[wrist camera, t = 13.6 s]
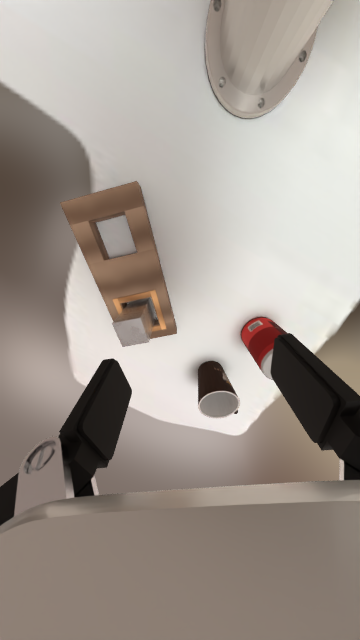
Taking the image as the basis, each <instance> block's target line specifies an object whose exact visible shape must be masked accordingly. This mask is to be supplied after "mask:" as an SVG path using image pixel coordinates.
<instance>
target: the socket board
mask: <svg viewBox="0 0 360 640" xmlns="http://www.w3.org/2000/svg"><path fill="white" fill-rule="evenodd" d="M60 204H61V206H62V209H63V210H64V213H65V215H66V217H67V220H68V222H69V224H70V226H71V229H72V230H73V233H74V235H75V237H76V240H77V242H78V244H79V246H80V248H81V251H82V253H83V255H84V257H85V260H86V262H87V264H88V266H89V268H90V271H91V273H92V275H93V277H94V279H95V282H96V284H97V286H98V288H99V291H100V293H101V295H102V297H103V299H104V302H105V304H106V306H107V308H108V310H109V313H110V315H111V317H112V319H113V322H114V320H115V319H116V318H117V317H118V315H119V314H120V313H121V312H122V310H123V309H124V308H125V307H126V305H127V303H126V302H131V301H135V300H140V299H145V298H149V297H151V299H152V302H153V305H154V308H155V312H156V315H157V318H158V320H155V322H154V326H153V329H152V333H151V336H150V339H152V338H157V337H162V336H167V335H173V334H177V327H176V323H175V319H174V315H173V311H172V307H171V304H170V300H169V296H168V292H167V288H166V284H165V280H164V276H163V273H162V269H161V265H160V261H159V257H158V253H157V249H156V245H155V241H154V238H153V234H152V230H151V226H150V222H149V218H148V214H147V210H146V206H145V203H144V199H143V195H142V191H141V187H140V185H139V184H138V182H137V181H135V182H132V183H128V184H125V185H121V186H118V187H114V188H110V189H107V190H103V191H100V192H96V193H93V194H89V195H85V196H82V197H79V198H75V199H71V200H68V201H64V202H61V203H60ZM122 215H126V218H127V221H128V224H129V228H130V231H131V234H132V237H133V241H134V244H135V247H136V250H137V253H134V254H130V255H126V256H121V257H117V258H113V259H109V256H108V254H107V251H106V249H105V246H104V244H103V241H102V238H101V236H100V233H99V231H98V228H97V226H96V223H95V222H99V221H103V220H107V219H111V218H114V217H118V216H122Z"/></svg>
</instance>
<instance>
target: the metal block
mask: <svg viewBox="0 0 360 640" xmlns="http://www.w3.org/2000/svg"><path fill="white" fill-rule="evenodd" d="M155 319H156V314H155V310H154V307H153V304H152V301H151V297H149V298H145V299H140V300H135V301H131V302H129V303H128V304H127V305H126V307H125V308H124V309H123V310H122V312H121V313H120V314H119V315H118V317H117V318H116V319H115V320H114V322H113V323H112V324H113V327H114V329H115V331H116V333H117V336H118V338H119V340H120V342H121V344H122V347H125V346H130V345H136V344H141V343H147V342H149V340H150V336H151V333H152V329H153V326H154V322H155Z"/></svg>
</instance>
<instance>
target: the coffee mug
mask: <svg viewBox="0 0 360 640" xmlns="http://www.w3.org/2000/svg"><path fill="white" fill-rule="evenodd" d="M239 406H240V400H239V398H238V396H237V394H236V393H235V391H234V389H233V387H232V385H231V383H230V381H229V379H228V377H227V376H226V374H225V372H224V370H223V368H222V366H221V365H220V364H219V363H218V362H215V361H208V362H205V363H203V364H202V365H201V366H200V367H199V369H198V408H199V411H200V412H201V413H202V414H203V415H205V416H207V417H210V418H223V417H227V416H229V415H231V414H233V413H234V414H237V413H238V410H237V409H238V408H239Z"/></svg>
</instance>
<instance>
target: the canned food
mask: <svg viewBox="0 0 360 640" xmlns="http://www.w3.org/2000/svg"><path fill="white" fill-rule="evenodd" d="M281 334H288V333H287V332H285V331H284V330H283V329H282V328H281V327H279V326H278V325H277V324H276V323H274V322H273V321H272V320H270V319H268V318H263V317H260V318H255V319H253V320H251V321H249V322H248V323H247V324H246V325H245V326H244V328H243V330H242V334H241V336H242V341H243V343H244V344H245V346H246V347H247V349H248V351H249V352H250V354H251V355H252V357H253V358H254V360H255V362H256V363H257V365H258V366H259V368H260V369H261V371H262V372H263V374H264V375H265V376H266V377H267V378H269V379H271V380H273V378H272V376H271V373H270V370H271V362H272V355H273V347H274V340H275V338H277V336H278V335H281Z"/></svg>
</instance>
